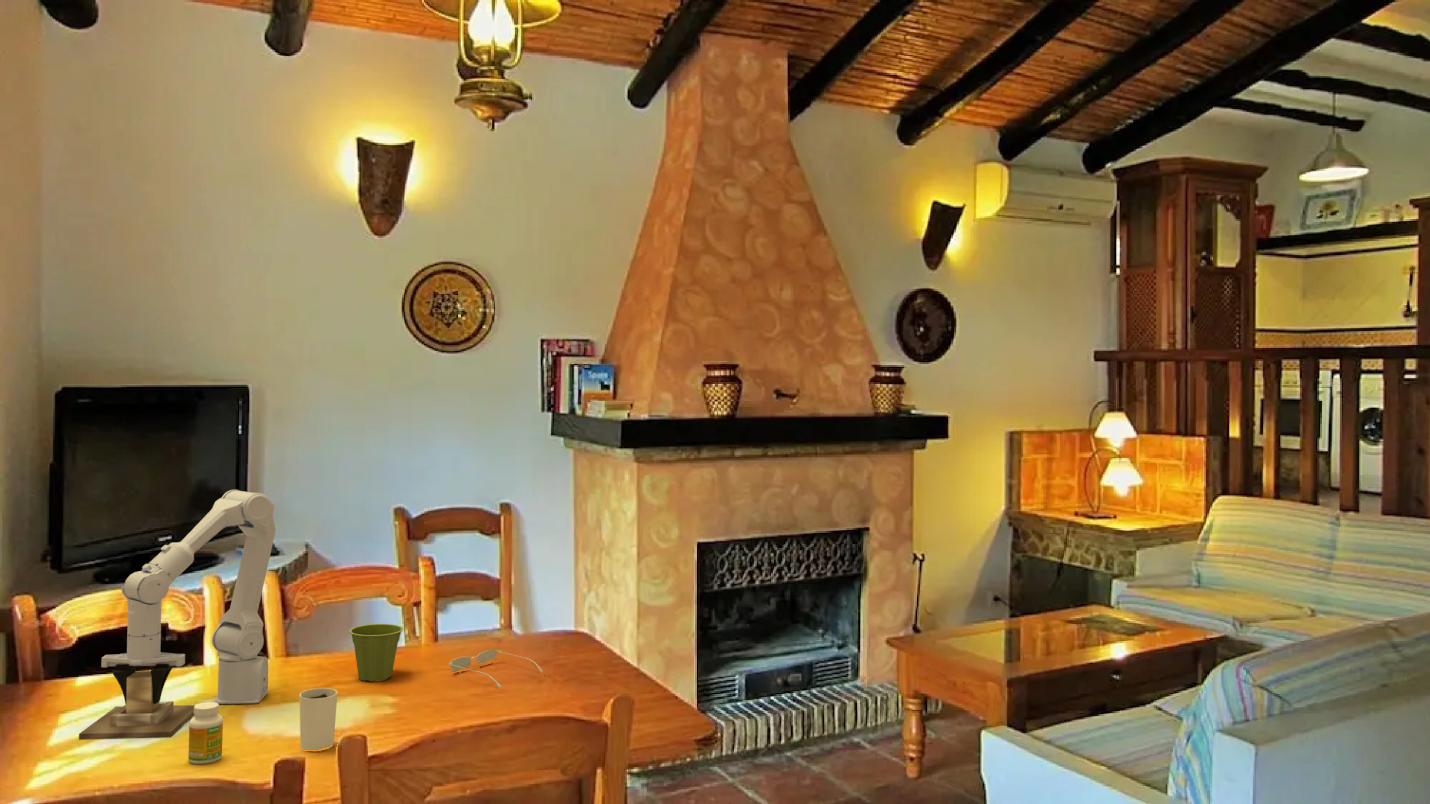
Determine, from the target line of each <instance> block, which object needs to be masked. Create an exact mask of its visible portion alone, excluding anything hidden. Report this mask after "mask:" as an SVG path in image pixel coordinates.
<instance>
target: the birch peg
mask: <svg viewBox="0 0 1430 804" xmlns="http://www.w3.org/2000/svg"><path fill="white" fill-rule="evenodd" d="M152 692H153V684H152V676H151V670H145V671H144V670H143V671H142V670H139V671H137V670H136V671H135V672H134V673H133V674H132V675H130V676H129V677H127V694H126V714H141V713H154V712H155V711H156V710H158V709H159V702H160V701H159V702H158V703H157V704H153V698H152Z"/></svg>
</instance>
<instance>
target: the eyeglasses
mask: <svg viewBox="0 0 1430 804" xmlns="http://www.w3.org/2000/svg"><path fill="white" fill-rule="evenodd" d="M497 653H498V654H506V655H511V656H515V657H518V658H523V659H526V660H529V661H530V662H532V663H533V664H534V665H535V666H536V667H537V668H538V670H539V672H540V671H541V672H542V671H543V670H542V668H541V667H540V665H538V664H537V662H535V661H534V660H532V659H530V658H528V657H523V656H520V655H515V654H512V653H508V652H503V651H502V650H496V649H489V650H485V651H481V652H480V653H478V654H477V655H476V656H472V657H469V656H461V657H456V658H454V659H452V660H451V661H450V662H448V664H447V665H448V666H450V668H451V671H452V673H453V672H456V671H458V670H460V669H466V668H468V667H469V668H468V670H469V671H472V672H474V673H479V674H483V675H485V676H486V677H487V676H488V677H489V678H490V679H491V680H492V681H493V682H494V684H495V685H496V687H497V686H498V687H503V686H502V685H501V684H500V683H499V682H498V681H497V680H496V679H495V678H494V677H492V676H491V675H489V674H488V673H485V672H482V671H478V670H474V669H470V667H471V666H472V660H473V659H476V661H477V664H480V663H484V662H487V661H489V660H494V661H495V658H496V656H497ZM468 670H467V671H468ZM498 687H497V688H498Z"/></svg>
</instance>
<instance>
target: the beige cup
mask: <svg viewBox="0 0 1430 804" xmlns="http://www.w3.org/2000/svg"><path fill="white" fill-rule="evenodd" d="M298 697H299V726H300V727H299V733H300V735H299V736H300V749H301V748H302V749H303V750H319V749H322V748H327V747H330V746H331V745H333V744H335V732H336V731H335V730H336V716H337V715H336V714H337V704H338V703H337V702H338V691H337V690H336V689H334V688H330V687H320V688H319V687H316V688H310V689H306V690H303V691H301V692H300V693H299V695H298ZM333 746H334V745H333Z"/></svg>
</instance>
